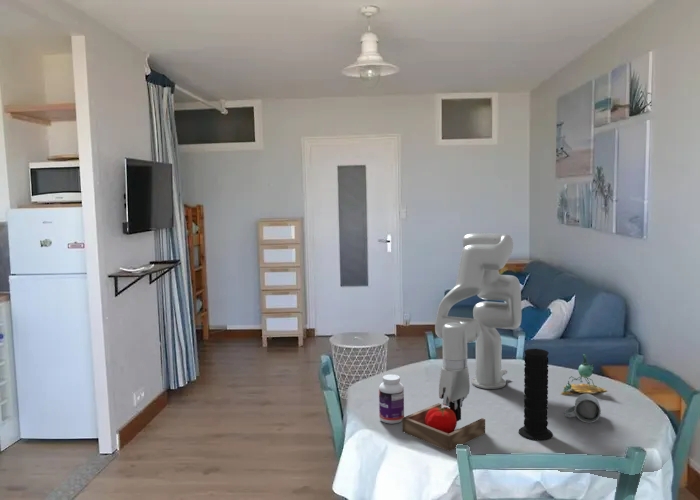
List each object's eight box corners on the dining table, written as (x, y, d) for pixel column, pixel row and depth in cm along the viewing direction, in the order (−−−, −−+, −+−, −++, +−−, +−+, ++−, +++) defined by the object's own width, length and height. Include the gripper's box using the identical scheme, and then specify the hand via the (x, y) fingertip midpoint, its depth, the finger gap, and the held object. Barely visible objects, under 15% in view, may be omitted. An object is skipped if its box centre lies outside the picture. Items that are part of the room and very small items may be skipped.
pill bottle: (375, 417, 190) (374, 375, 189) (397, 413, 193) (396, 371, 192) (386, 426, 183) (385, 382, 181) (408, 422, 186) (407, 379, 184)
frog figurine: (552, 387, 214) (556, 348, 212) (599, 391, 214) (604, 352, 213) (562, 397, 204) (567, 356, 203) (612, 400, 205) (617, 359, 204)
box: (438, 416, 190) (438, 403, 189) (485, 433, 176) (485, 419, 176) (402, 431, 179) (402, 417, 178) (449, 451, 165) (449, 436, 164)
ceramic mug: (598, 414, 188) (598, 391, 187) (600, 424, 181) (600, 400, 180) (564, 411, 192) (564, 389, 191) (564, 421, 184) (564, 397, 183)
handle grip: (544, 425, 181) (513, 427, 180) (545, 343, 178) (513, 344, 177) (558, 439, 171) (525, 441, 170) (560, 352, 168) (526, 354, 167)
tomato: (419, 436, 175) (419, 409, 174) (437, 425, 183) (436, 399, 182) (446, 444, 169) (446, 417, 168) (463, 432, 177) (463, 406, 176)
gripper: (460, 355, 186) (460, 409, 189) (429, 365, 177) (430, 423, 179) (479, 360, 181) (479, 416, 183) (449, 371, 171) (449, 430, 173)
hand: (455, 419), depth 181 cm, fingers closed
